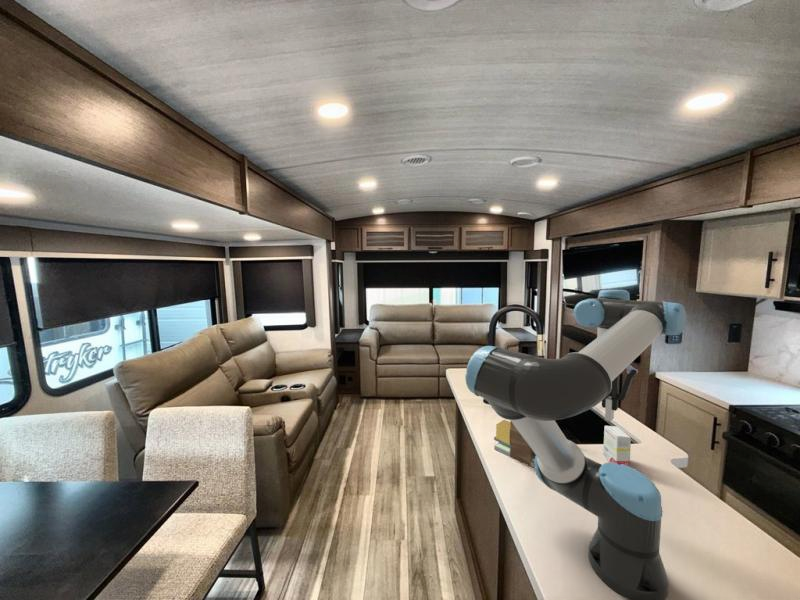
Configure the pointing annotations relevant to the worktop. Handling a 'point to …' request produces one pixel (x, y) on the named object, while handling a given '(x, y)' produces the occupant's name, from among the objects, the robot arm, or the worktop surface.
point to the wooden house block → (519, 447)
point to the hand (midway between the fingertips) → (609, 419)
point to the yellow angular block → (504, 433)
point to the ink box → (616, 445)
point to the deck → (506, 451)
